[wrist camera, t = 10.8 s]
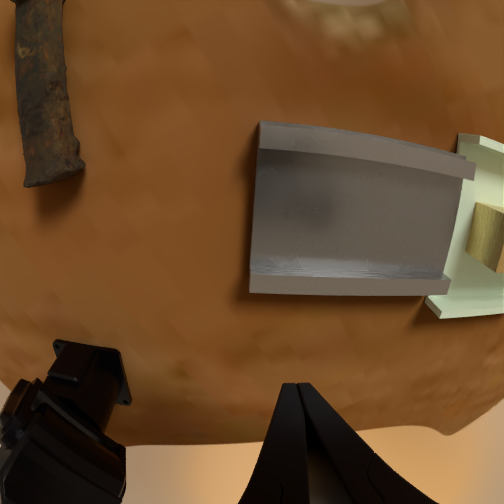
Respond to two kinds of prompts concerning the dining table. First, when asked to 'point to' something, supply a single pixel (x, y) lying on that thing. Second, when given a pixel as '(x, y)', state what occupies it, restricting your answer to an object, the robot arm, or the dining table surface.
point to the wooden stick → (43, 94)
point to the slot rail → (351, 213)
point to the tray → (458, 261)
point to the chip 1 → (487, 236)
